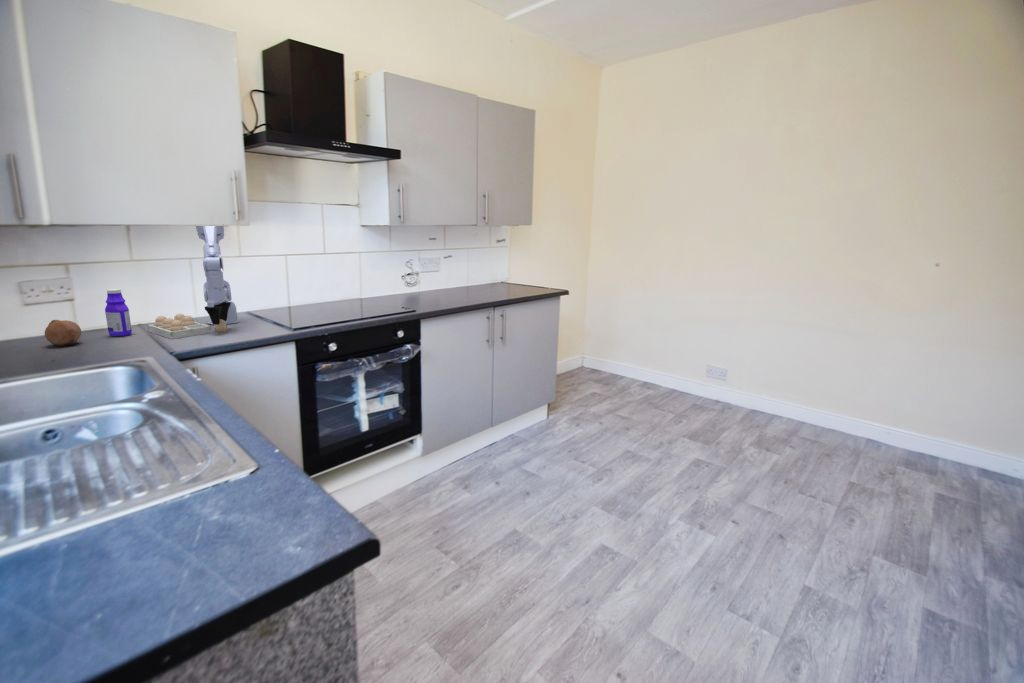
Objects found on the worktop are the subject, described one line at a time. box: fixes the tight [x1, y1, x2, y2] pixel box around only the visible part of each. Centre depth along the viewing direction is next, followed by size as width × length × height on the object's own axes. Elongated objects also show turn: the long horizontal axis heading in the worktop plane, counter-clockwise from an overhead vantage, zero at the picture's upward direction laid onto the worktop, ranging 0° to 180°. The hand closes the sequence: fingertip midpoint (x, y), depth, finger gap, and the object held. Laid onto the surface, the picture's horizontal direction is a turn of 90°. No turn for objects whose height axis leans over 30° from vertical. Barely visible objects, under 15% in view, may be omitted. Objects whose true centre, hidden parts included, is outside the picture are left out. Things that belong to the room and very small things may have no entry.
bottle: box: [104, 288, 133, 337], centre depth 187 cm, size 7×6×17 cm
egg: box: [213, 319, 228, 334], centre depth 198 cm, size 4×4×5 cm
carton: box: [147, 313, 212, 340], centre depth 196 cm, size 14×21×6 cm
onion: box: [44, 319, 82, 347], centre depth 173 cm, size 10×9×10 cm
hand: (220, 322), depth 198 cm, fingers open, 7 cm apart
